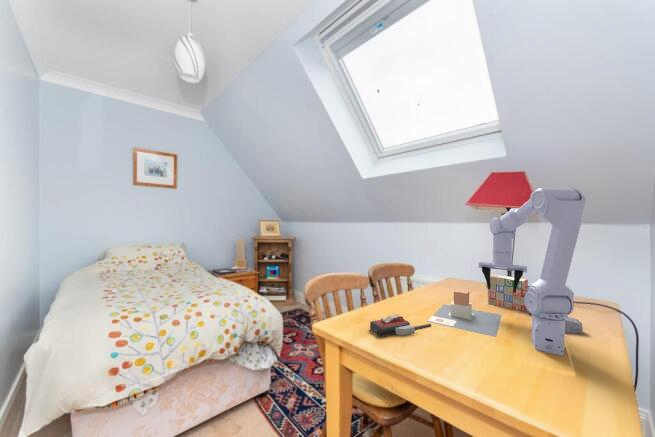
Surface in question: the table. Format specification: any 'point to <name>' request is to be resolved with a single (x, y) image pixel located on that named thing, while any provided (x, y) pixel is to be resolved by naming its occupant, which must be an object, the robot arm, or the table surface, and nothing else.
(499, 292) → the stack of blocks
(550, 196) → the robot arm
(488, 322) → the board
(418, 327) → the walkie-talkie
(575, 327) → the stone block
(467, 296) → the orange cube
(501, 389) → the table surface
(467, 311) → the cream base block
